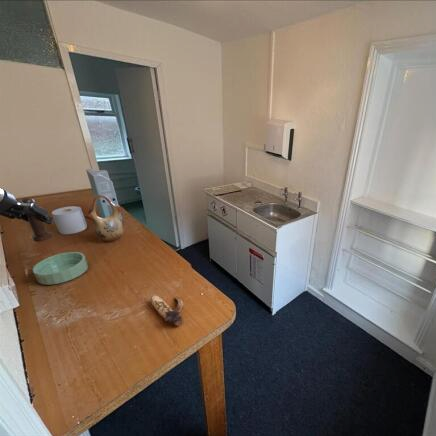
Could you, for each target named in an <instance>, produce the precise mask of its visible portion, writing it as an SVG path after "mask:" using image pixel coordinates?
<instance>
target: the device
mask: <svg viewBox="0 0 436 436" xmlns="http://www.w3.org/2000/svg"><path fill="white" fill-rule="evenodd" d="M85 171H86V175H87V177H88V180H89V184H90V187H91V190H92V194H93V197H94V198H95V197H97V196H99V195H103V196H106V197H108V198H109V200H110V201H111V202H112V203H113V204H114V205H116V206H119V207H120V205H119V202H118V199H117V194H116V190H115V186H114V184H113V183H114V181H112V180H111V178H110V176H109V172H108V170H106V169H99V170H96V169H93V168H88V169H85ZM94 198H93V199H94ZM96 207H97V210H98V213H99V217H100V218H107V217H109V216H111V215H112V213H113V210H112V207H111V205H110V204H109V202H108V201H107V200H106V199H105V198H98V199H97V200H96ZM119 219H120V221H121V222H122V223H123V217H122V213H121V212H120V214H119Z"/></svg>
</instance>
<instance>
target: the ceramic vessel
mask: <svg viewBox="0 0 436 436" xmlns="http://www.w3.org/2000/svg"><path fill="white" fill-rule="evenodd" d="M98 198H105V199H106V200H107V201H108V202H109V204H110V205H111V207H112V210H113V213H112V215H111V216H109V217H107V218H101V217H100V216H98V215H97V211H96V206H97V204H96V200H97V199H98ZM122 211H124V207H122V206H120V205H119V206H116V205H114V204H113V203H112V202H111V201H110V200H109V198H108V197H106V196H103V195H99V196H97V197H95V198H93V201H92V204H91V207H90V208H89V210H88V211H87V212H86V213H84V214H83V215H84V218H85V219H89V220H90V221H92V222H93V224H94V229H93V230H94V234H95V236H96V237H97V238H98V239H99V240H101V241H103V242H108V243H109V242H114V241H117V240H118V239H120V238H121V237H122V236H123V234H124V232H125V228H124V224H123V221H122V222H121V221H120V219H119V214H120V213H121V212H122Z"/></svg>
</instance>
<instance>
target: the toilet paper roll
mask: <svg viewBox="0 0 436 436" xmlns="http://www.w3.org/2000/svg"><path fill="white" fill-rule="evenodd" d="M84 215H85V214H84V213H83V210H82V208H81V207H80V206H64V207H59V208H57V209H54V210H53V211H52V212H51V216H52V219H53V220H54V224H55V226H56V228H57V230H58V232H59V234H61V235H73V234H77V233H81V232H83V231H85V230H86V229H88V225H87V221H86V217H84Z"/></svg>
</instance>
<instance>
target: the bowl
mask: <svg viewBox="0 0 436 436" xmlns="http://www.w3.org/2000/svg"><path fill="white" fill-rule="evenodd" d="M88 269H89V264H88V261H87V257H86V255H85V254H84V253H82V252H79V251H69V252H62V253H57V254H54V255H51V256H49V257H47V258H44V259H42V260H41V261H39V262H38V263H36V264H35V265H34V266H33V267H32V272H33V274H34V277H35V278H36V281H37V282H38V284H40V285H48V286H49V285H50V286H51V285H57V284H62V283H65V282H66V283H67V282H69V281H71V280H74V279H76V278H77V277H80V276H81V275H82V274H84V273H85V272H86V271H87V270H88Z"/></svg>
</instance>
